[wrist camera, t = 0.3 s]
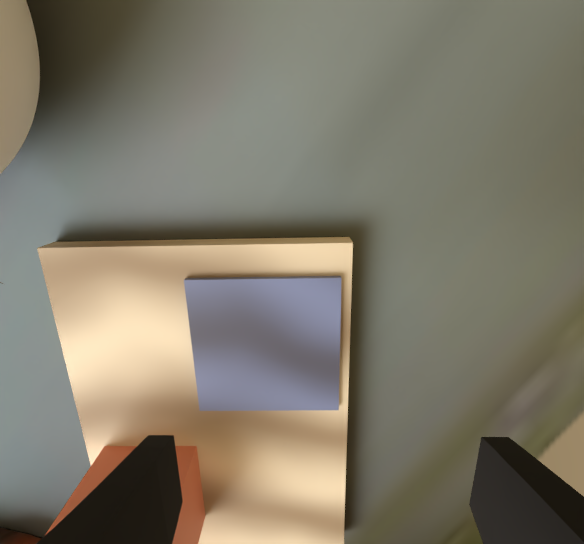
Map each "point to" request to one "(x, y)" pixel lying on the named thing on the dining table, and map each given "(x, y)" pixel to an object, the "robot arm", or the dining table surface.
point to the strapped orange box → (189, 480)
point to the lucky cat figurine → (16, 537)
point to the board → (218, 368)
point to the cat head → (17, 77)
